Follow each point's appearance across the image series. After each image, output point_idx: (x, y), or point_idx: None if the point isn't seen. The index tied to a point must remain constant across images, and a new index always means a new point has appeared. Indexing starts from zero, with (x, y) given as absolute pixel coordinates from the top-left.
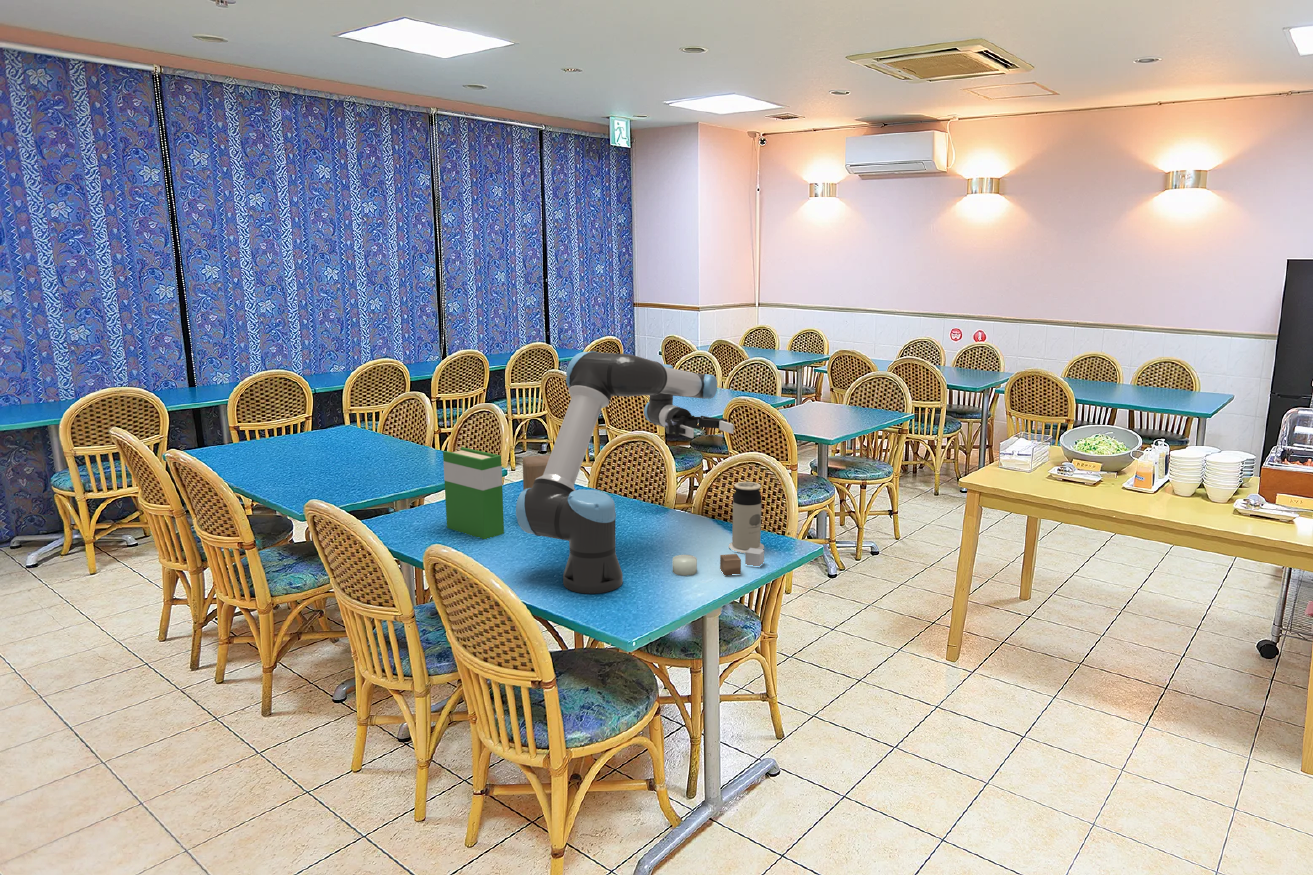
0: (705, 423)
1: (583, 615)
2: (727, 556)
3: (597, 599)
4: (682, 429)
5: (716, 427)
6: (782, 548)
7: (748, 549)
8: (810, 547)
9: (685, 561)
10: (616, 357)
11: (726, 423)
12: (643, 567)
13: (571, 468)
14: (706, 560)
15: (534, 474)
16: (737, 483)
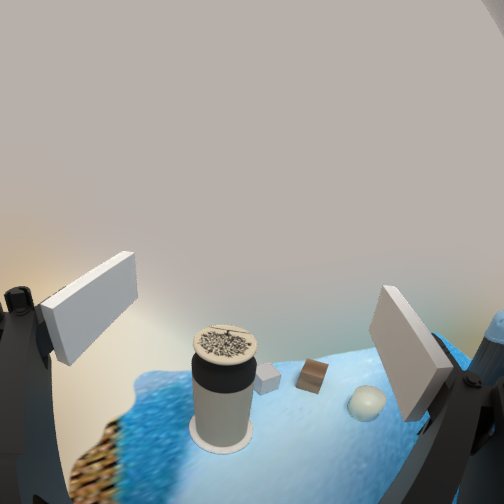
0: (43, 440)
1: (466, 363)
2: (317, 371)
3: None
4: (433, 334)
5: (49, 379)
6: (177, 396)
7: (270, 378)
8: (145, 375)
9: (372, 390)
10: None
11: (107, 273)
12: (410, 436)
13: None
14: (316, 425)
15: None
16: (235, 358)
